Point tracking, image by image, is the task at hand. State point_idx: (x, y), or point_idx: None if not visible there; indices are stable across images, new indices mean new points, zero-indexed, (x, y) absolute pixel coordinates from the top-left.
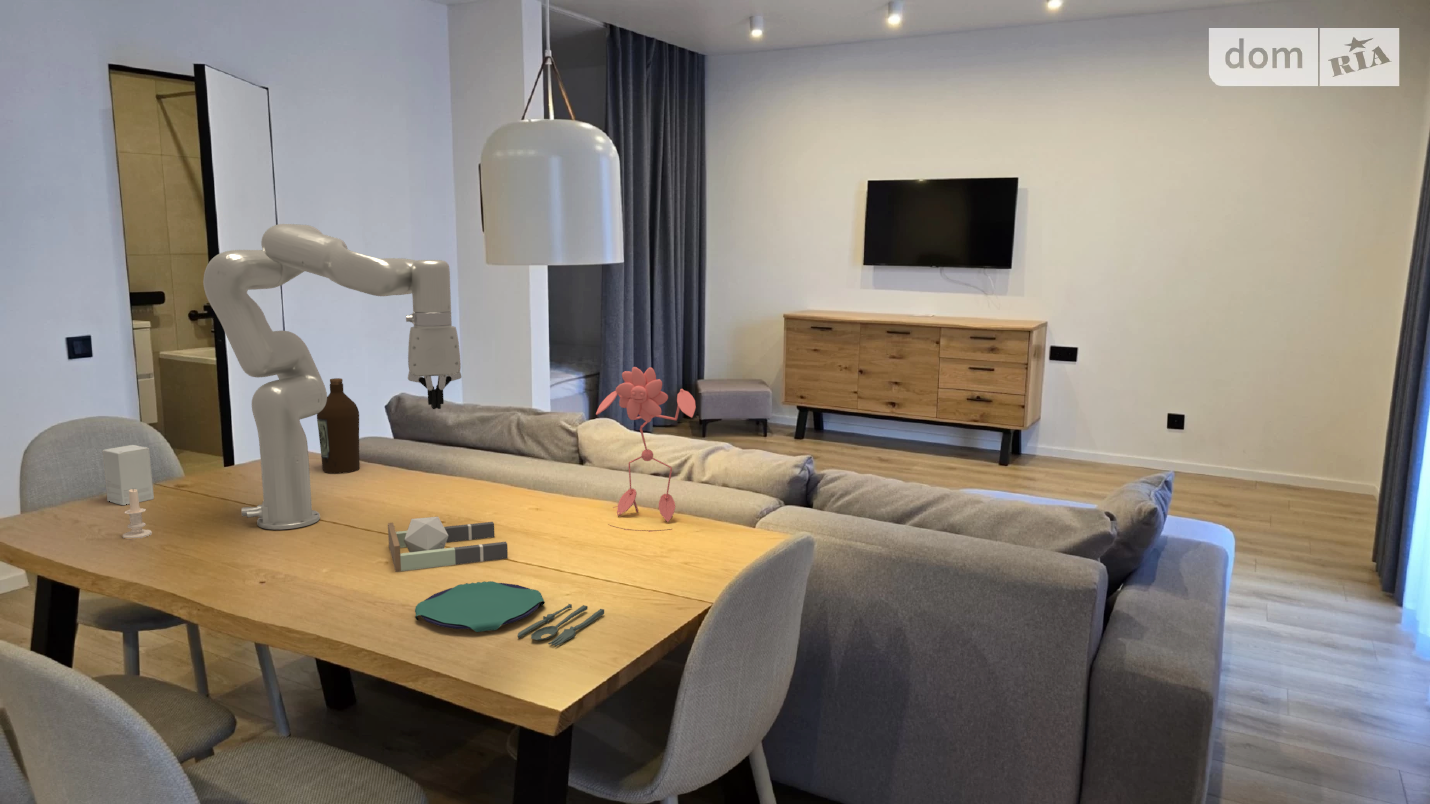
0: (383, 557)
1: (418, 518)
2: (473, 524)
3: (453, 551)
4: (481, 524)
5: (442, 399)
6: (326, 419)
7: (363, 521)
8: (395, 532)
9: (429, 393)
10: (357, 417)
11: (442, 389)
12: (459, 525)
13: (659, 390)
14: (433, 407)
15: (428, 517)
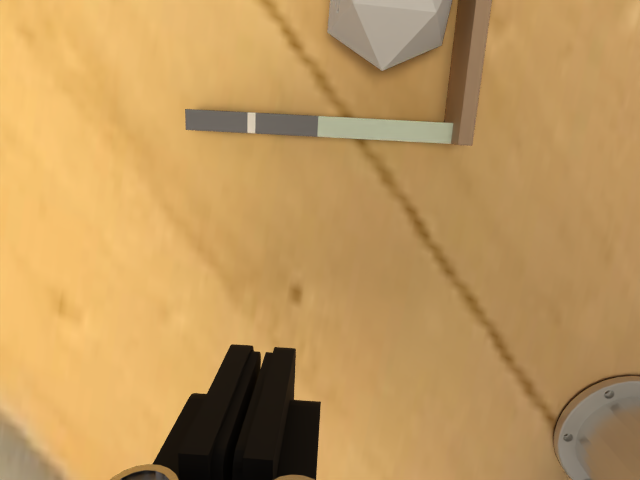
0: None
1: (415, 7)
2: (239, 124)
3: None
4: (219, 115)
5: (191, 411)
6: None
7: (467, 372)
8: (473, 34)
9: (305, 471)
10: None
11: (146, 469)
12: (276, 130)
13: None
14: (290, 352)
15: (383, 7)
